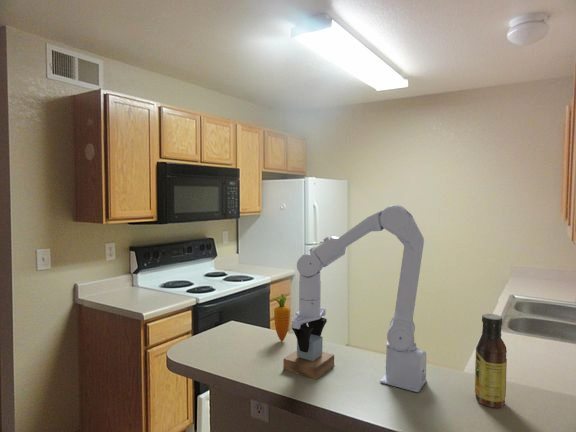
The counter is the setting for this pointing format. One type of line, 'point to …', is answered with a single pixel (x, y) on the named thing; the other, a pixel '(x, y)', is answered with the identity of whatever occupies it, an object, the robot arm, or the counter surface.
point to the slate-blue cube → (312, 348)
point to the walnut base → (308, 365)
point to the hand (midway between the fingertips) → (309, 347)
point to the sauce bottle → (491, 363)
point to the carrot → (281, 318)
